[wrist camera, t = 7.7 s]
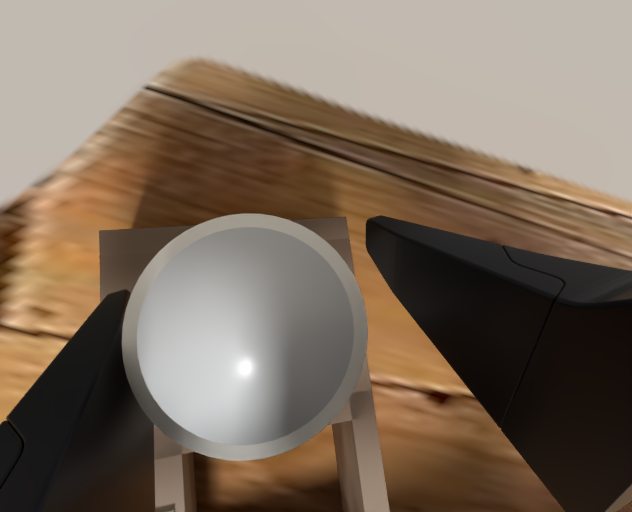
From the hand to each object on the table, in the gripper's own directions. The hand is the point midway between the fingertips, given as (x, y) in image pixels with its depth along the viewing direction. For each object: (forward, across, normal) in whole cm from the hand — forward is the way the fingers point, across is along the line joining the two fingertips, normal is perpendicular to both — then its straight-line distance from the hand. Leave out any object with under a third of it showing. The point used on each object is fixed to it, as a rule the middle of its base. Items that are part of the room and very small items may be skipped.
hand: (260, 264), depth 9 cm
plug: (+5, 0, +7) cm, 9 cm away
